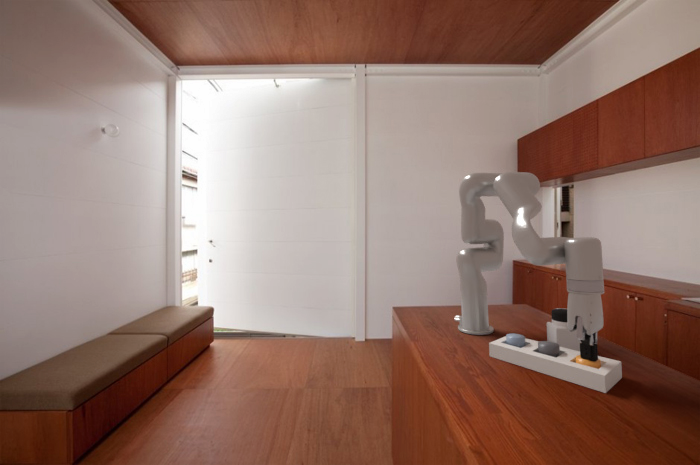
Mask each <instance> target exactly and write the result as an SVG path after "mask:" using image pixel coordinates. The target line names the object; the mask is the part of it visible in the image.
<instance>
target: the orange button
mask: <svg viewBox="0 0 700 465" xmlns="http://www.w3.org/2000/svg"><path fill="white" fill-rule="evenodd" d="M576 363H578V364H582V365H586V366H589V367H593V368H597V369H599V368H600V367H601V361H600V360H599V359H598V360H597V361H595V362H593V361H589V360H585V359H582V358H581V357H580V355H577V356H576Z"/></svg>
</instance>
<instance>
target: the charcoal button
mask: <svg viewBox="0 0 700 465" xmlns="http://www.w3.org/2000/svg"><path fill="white" fill-rule="evenodd" d="M538 353H541V354H545V355H549V356H552V357H558V356H560V349H559V344H557V343H554V342H550V341H547V340H541V341H539V342H538Z"/></svg>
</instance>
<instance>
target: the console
mask: <svg viewBox="0 0 700 465" xmlns="http://www.w3.org/2000/svg"><path fill="white" fill-rule="evenodd" d="M538 342H540V341H538V340H534V339H530V338H526V337H525V346H524V347H522V348H519V347H516V346H512V345H508V344H507V343H506V335H505V336H503V337H500V338H498V339H495V340H493V341H490V342H488V351H489V352H488V353H489V357H490V358H493V359H494V358H495V359H497V360H500V361H503V362H505V363H506V362H507V363H509V364H513V365H517V366H519V367H522V368H525V369H529V370H532V371H534V372H538V373H541V374H544V375H547V376H549V377H552V378H553V377H554V378H557V379H559V380H562V381H566V382H569V383H573V384H576V385H579V386H581V387H585V388H587V389H591V390H594V391H598V392H601V393H604V394H607V393H608V392H609V391H610V390H611V389H612V388H613V387H614V386H615V385H616V384H618V382H619V381H620V380H621V379H623V371H622V366H623V365H622V361H620V360H616V359H612V358H608V357H603V356H601V355H598V359H599V360H600V361H601V367H600V368H599V369H597V368H593V367H589V366H586V365H582V364H578V363H576V356H577V355H580V351H576V350H572V349H568V348H563V347H559V349H560V356H558V357H552V356H549V355H545V354H541V353H538Z"/></svg>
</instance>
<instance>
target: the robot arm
mask: <svg viewBox="0 0 700 465" xmlns="http://www.w3.org/2000/svg"><path fill="white" fill-rule="evenodd" d="M540 188H541V183H540V179H539V178H538V177H537V176H536V175H535V174H534V173H531V172H527V171H525V172H522V171H521V172H520V171H507V172H504V173H503V172H502V173H500V172H474V173H473V172H472V173H470V174H468V175H466V176H464V178H463V179H462V180H461V182H460V185H459V188H458V189H459V190H458V194H459V196H458V197H459V201H460V206H461V209H460V211H461V212H460V213H461V214H460V216H461V217H460V233H461V234H460V236H461V240H462V241H463V243H464V244H467V245H483V247H481V246H480V247H468V248H464V249H461V250H459V252H458V253H457V254H456V265H457V270H458V275H459V283H460V284H459V285H460V286H459V287H460V304H461V315H458V314H456V315H455V316H454V320H453V321H455V322H458V323H459V324H458V325H457V329H458V331H459V332H462V333H464V334H468V335H473V336H484V335H491V334H492V333H493V332H494V327H493V326H492V325H489V308H488V307H489V306H488V305H489V302H488V299H489V298H488V284H487V281H486V279H485V277H484V276H483V274H482V273H486V272H493V271H497V270H500V268H501V267H502V265H503V262H504V240H505V238H504V236H505V235H504V234H505V232H504V229H503V226H502V224H501V223H500V221H498V220H496V219H491V218H489V219H487V218H486V206H485V204H484V202H483V200H482V197H498V198H499V200H500V201H501V202H502V204H503V206H504V207H505V209H506V210H507V212H508V213H509V215H510V216H511V218H512V222H511V223H512V224H511V235H512V240H513V242H514V245H515V247H517V249H518V251H519V252H520V254H521V255H522V257H523V258H524V259H525V260H526V261H527V262H528V263H530V264H532V265H534V266H539V267H540V266H551V265H565V278H566V291H567V294H568V296H567V308H566V309H567V325H568V330H569V331H570V332H573V331H575V330H577V339H579V343H580V357H581V358H582V359H585V360H589V361H593V362H595V361H597V360H598V356H599V354H598V353H599V350H598V333H599V331H601V330H602V329H604V328H603V327H604V308H603V302H602V301H603V300H602V295H603V294H605V283H604V278H605V277H604V265H603V262H604V261H603V250H602V241H601V240H600V239H599V238H597V237H588V236H587V237H566V236H557V237H556V236H555V237H553V236H551V237H548V236H547V237H540V236H539V234H538V233H537V231H536V230H535V228H534V227H533V225H532V222H531V220H532V219H534V218H535V217H536V216H538V215H539V213H540V212H541V211H542V204H541V202H540V200H539V199H538V198H537V196H536V195H537V194H538V193H539V191H540Z"/></svg>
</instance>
